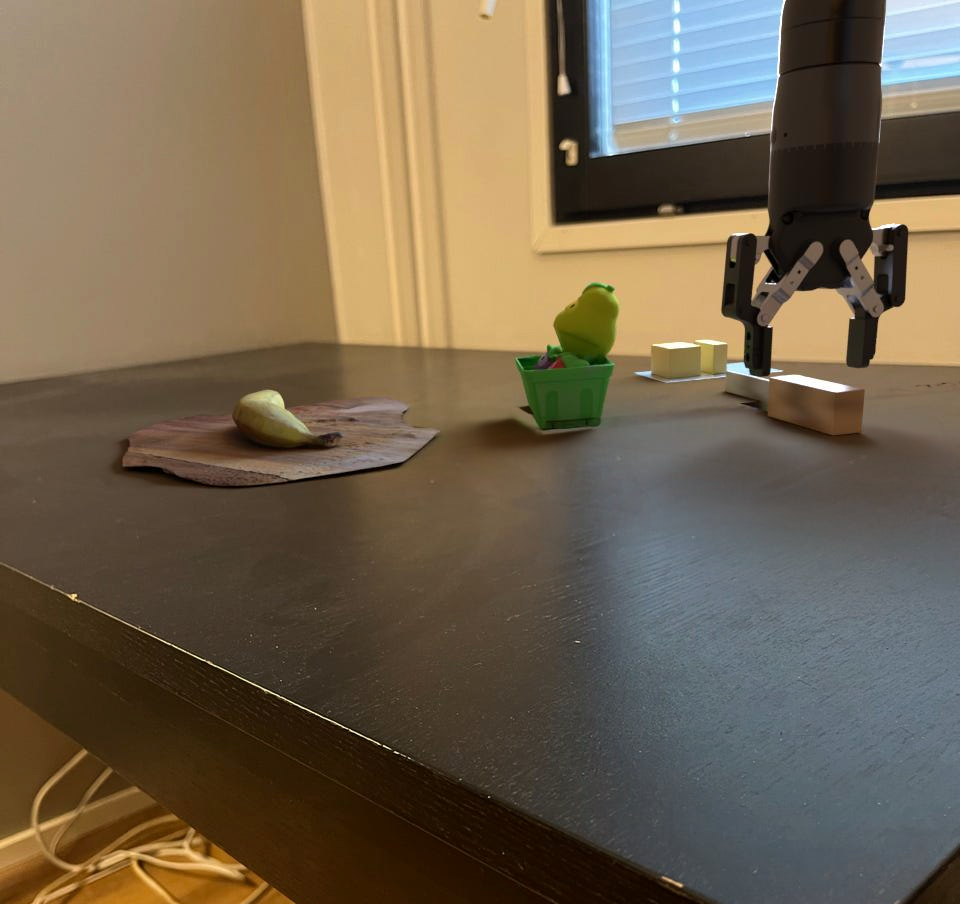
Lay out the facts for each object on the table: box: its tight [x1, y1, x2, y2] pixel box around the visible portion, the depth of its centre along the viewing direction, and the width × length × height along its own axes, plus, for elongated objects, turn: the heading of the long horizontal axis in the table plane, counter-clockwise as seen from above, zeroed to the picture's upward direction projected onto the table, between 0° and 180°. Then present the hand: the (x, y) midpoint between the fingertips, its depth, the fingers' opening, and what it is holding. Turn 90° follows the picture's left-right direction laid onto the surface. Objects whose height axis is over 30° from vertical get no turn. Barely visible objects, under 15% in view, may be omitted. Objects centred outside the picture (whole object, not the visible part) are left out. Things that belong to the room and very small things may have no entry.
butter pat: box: [693, 339, 729, 374], centre depth 104 cm, size 2×5×3 cm, turn 13°
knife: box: [724, 371, 866, 436], centre depth 82 cm, size 20×2×3 cm, turn 13°
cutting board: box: [122, 389, 442, 487], centre depth 86 cm, size 35×27×4 cm
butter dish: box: [633, 361, 783, 384], centre depth 104 cm, size 13×9×1 cm
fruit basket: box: [514, 281, 621, 430], centre depth 85 cm, size 11×9×11 cm
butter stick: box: [650, 341, 701, 379], centre depth 103 cm, size 4×5×3 cm
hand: (809, 371), depth 78 cm, fingers open, 8 cm apart
